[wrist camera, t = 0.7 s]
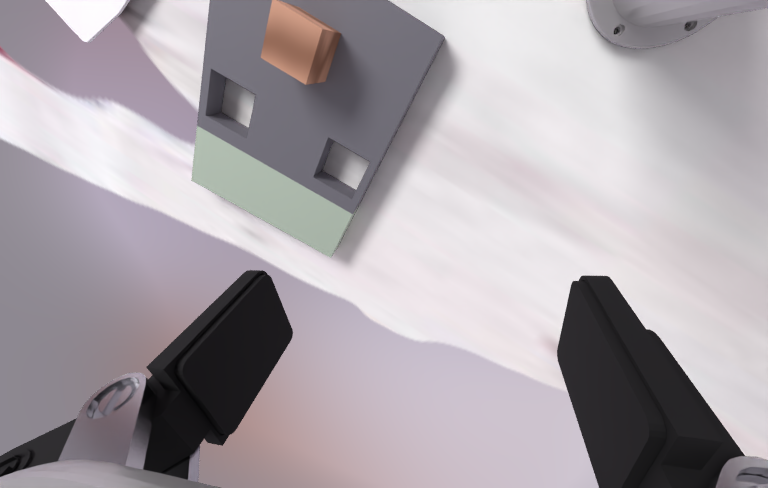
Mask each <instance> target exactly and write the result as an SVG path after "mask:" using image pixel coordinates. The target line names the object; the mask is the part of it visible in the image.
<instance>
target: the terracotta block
mask: <svg viewBox="0 0 768 488" xmlns="http://www.w3.org/2000/svg"><path fill="white" fill-rule="evenodd" d="M340 36H341V33H340V32H338V31H337V30H335V29H333V28H332V27H330V26H329V25H327V24H325V23H324V22H322V21H321V20H319V19H317V18H316V17H314V16H312V15H311V14H309V13H308V12H306V11H304V10H303V9H301V8H300V7H297V6H294V5H291V4H288V3H285V2H282V1H279V0H272V4H271V9H270V13H269V18H268V23H267V28H266V33H265V38H264V43H263V48H262V53H261V58H262V59H264V60H265V61H267V62H269V63H270V64H272V65H274V66H275V67H277V68H279V69H280V70H282V71H284V72H285V73H287V74H289V75H290V76H292V77H294V78H295V79H297V80H299V81H300V82H302V83H304V84H305V85H307V84H314V83H321V82H325V81H326V78H327V75H328V72H329V69H330V66H331V63H332V60H333V57H334V54H335V51H336V48H337V45H338V42H339V39H340Z"/></svg>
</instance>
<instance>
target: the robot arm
mask: <svg viewBox="0 0 768 488" xmlns="http://www.w3.org/2000/svg"><path fill="white" fill-rule="evenodd" d="M586 1H587V7H588V13H589V15H590V17H591V20H592V22H593V25H594V26H595V27H596V29H597V30H598V31H599V33H600V34H601V35H602V36H604V37H605V38H606V39H607V40H609V41H610V42H612V43H615V44H617V45H619V46H622V47H628V48H635V49H637V48H651V47H658V46H663V45H666V44H670V43H673V42H676V41H679V40H681V39H683V38H685V37H687V36H690V35H692V34H693V33H695V32H697V31H698V30H700V29H701V28H703V27H705V26H706V25H708V24H709V23H711V22H712V21H714V20H715V19H716V18H717V17H719V16H725V15H730V14H736V13H742V12H747V11H753V10H759V9H764V8H768V0H586ZM686 23H687V24H688V25H687V27H686V28H685V29H684V27H685V24H686ZM615 28H618V32H617V33H616V34H614V29H615ZM292 334H293V331H292V328H291V325H290V323H289V321H288V318H287V315H286V313H285V311H284V308H283V306H282V303H281V301H280V298H279V296H278V293H277V291H276V288H275V286H274V283H273V281H272V278H271V277H270V276H269V275H267V273H266V272H265V271H252V270H250V271H246V272H245V273H244V274H242V275H241V276H240V277H239V278H238V279H237V280H236V281H235V282H234V283H233V284H232V285H231V286H230V287H229V288H228V289H227V290H226V291H225V292H224V293H223V294H222V295H221V296H220V297H219V298H218V299H216V300H215V301H214V303H212V304H211V305H210V306H209V307H208V308H207V309H206V310H205V311H204V312H203V313H202V314H201V315H200V316H199V317H198V318H197V319H196V320H195V321H194V322H193V323H192V324H191V325H190V326H189V327H188V328H186V329H185V330H184V331H183V332H182V333H181V334H180V335H179V336H178V337H177V338H176V339H175V340H174V341H173V342H172V343H171V344H170V345H169V346H168V347H167V348H166V349H165V350H164V351H163V352H162V353H161V354H160V355H158V356H157V357H156V358H155V359H154V360H153V361H152V362H151V363H150V364H149V365H148V366H147V368H148V370H149V371H150V372H151V373H152V376H151V378H149V379H147V378H146V377H145V376H144V374H142V373H129V374H126V375H123V376H120V377H118V378H116V379H114V380H112V381H110V382H109V383H107V384H106V385H105V386H103V387H101V388H100V389H99V390H98V391H97V392H95V393H94V394H93V395H92V396H91V397H90V398H89V399H88V400H87V402H86V403H85V404H84V405H83V407H82V409H81V410H80V413H79V414H78V417H77V418H76V419H74V420H73V421H70V422H68V423H66V424H64V425H62V426H60V427H58V428H56V429H54V430H52V431H49V432H48V433H45V434H44V435H41V436H39V437H37V438H35V439H33V440H31V441H29V442H27V443H25V444H23V445H20V446H18V447H16V448H14V449H12V450H10V451H9V452H7V453H5V454H3V455H2V456H0V488H220V487H215V486H211V485H207V484H203V483H199V482H198V476H199V454H200V444H201V442H202V441H203V439H205V440H206V441H207V442H208V443H212V444H217V445H223V444H224V443H225V441H226V439H227V438H228V436H229V435H230V434H232V433H233V432H234V431H235V430H236V429H237V427H238V425H239V424H240V422H241V421H242V419H243V417H244V416H245V414H246V412H247V411H248V409H249V408H250V406H251V404H252V402H253V401H254V399H255V398H256V396H257V395H258V393H259V391H260V390H261V388H262V386H263V385H264V383H265V381H266V380H267V378H268V377H269V375H270V373H271V371H272V370H273V368H274V367H275V365H276V364H277V362H278V360H279V359H280V357H281V355H282V354H283V352H284V351H285V349H286V347H287V346H288V344H289V343H290V341H291V339H292ZM557 356H558V362H559V365H560V368H561V371H562V374H563V378H564V381H565V384H566V387H567V390H568V393H569V396H570V399H571V402H572V405H573V408H574V411H575V414H576V417H577V421H578V424H579V427H580V430H581V433H582V436H583V439H584V442H585V445H586V448H587V451H588V454H589V458H590V461H591V464H592V467H593V470H594V473H595V476H596V479H597V482H598V485H599V488H768V460H766V459H762V458H759V457H749V456H745V455H744V454H743V452H742V451H741V450H740V448H739V447H738V446H737V444H736V443H735V441H734V440H733V439H732V437H731V436H730V434H729V433H728V432H727V430H726V429H725V428H724V426H723V425H722V423H721V422H720V421H719V419H718V418H717V416H716V415H715V414H714V412H713V411H712V410H711V408H710V407H709V405H708V404H707V403H706V401H705V400H704V398H703V397H702V396H701V394H700V393H699V392H698V390H697V389H696V387H695V386H694V385H693V383H692V382H691V380H690V379H689V378H688V376H687V375H686V374H685V372H684V371H683V369H682V368H681V367H680V365H679V364H678V362H677V361H676V360H675V358H674V357H673V356H672V354H671V353H670V351H669V350H668V349H667V347H666V346H665V344H664V343H663V342H662V340H661V339H660V338H659V337H658V335H657V334H656V333H655V332H653V331H651V330H646V329H645V327H644V326H643V324H642V323H641V322H640V320H639V319H638V317H637V316H636V314H635V313H634V311H633V310H632V309H631V307H630V306H629V304H628V303H627V301H626V300H625V298H624V297H623V296H622V294H621V293H620V291H619V290H618V288H617V287H616V285H615V284H614V283H613V281H612V280H611V279H610V278H609V277H608V276H581V278H580V279H579V281H573V282H572V285H571V289H570V294H569V298H568V303H567V307H566V312H565V317H564V321H563V326H562V331H561V335H560V340H559V345H558V350H557Z"/></svg>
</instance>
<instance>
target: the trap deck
mask: <svg viewBox="0 0 768 488" xmlns="http://www.w3.org/2000/svg"><path fill="white" fill-rule="evenodd" d="M279 1H282V2H285V3H288V4H291V5H294V6H297V7H300V8H301V9H303V10H304V11H306V12H308V13H309V14H311V15H312V16H314V17H316V18H317V19H319V20H321V21H322V22H324V23H325V24H327V25H329V26H330V27H332V28H333V29H335V30H337V31H338V32H340V33H341V36H340V39H339V42H338V45H337V48H336V51H335V54H334V57H333V60H332V63H331V66H330V69H329V72H328V75H327V78H326V81H325V82H321V83H314V84H307V85H305V84H304V83H302V82H300V81H299V80H297V79H295V78H294V77H292V76H290V75H289V74H287V73H285V72H284V71H282V70H280V69H279V68H277V67H275V66H274V65H272V64H270V63H269V62H267V61H265V60H264V59H262V58H261V53H262V48H263V43H264V38H265V33H266V28H267V23H268V18H269V13H270V9H271V4H272V0H210V4H209V14H208V24H207V34H206V43H205V53H204V63H203V73H202V82H201V92H200V102H199V112H198V121H197V132H196V141H195V151H194V161H193V170H192V181H193V182H195V183H197V184H199V185H201V186H202V187H204V188H206V189H208V190H210V191H211V192H213V193H215V194H217V195H219V196H220V197H222V198H224V199H226V200H228V201H229V202H231V203H233V204H235V205H237V206H238V207H240V208H242V209H244V210H246V211H247V212H249V213H251V214H253V215H255V216H256V217H258V218H260V219H262V220H264V221H265V222H267V223H269V224H271V225H273V226H274V227H276V228H278V229H280V230H282V231H284V232H285V233H287V234H289V235H291V236H293V237H294V238H296V239H298V240H300V241H302V242H303V243H305V244H307V245H309V246H311V247H312V248H314V249H316V250H318V251H320V252H321V253H323V254H325V255H327V256H329V257H330V258H331V256H332V255H333V253H334V252H335V250H336V249H337V247H338V245H339V243H340V242H341V240H342V238H343V236H344V234H345V232H346V230H347V228H348V226H349V224H350V222H351V220H352V218H353V216H354V214H355V212H356V210H357V208H358V206H359V204H360V203H361V201H362V199H363V197H364V195H365V193H366V191H367V189H368V187H369V185H370V183H371V181H372V179H373V177H374V175H375V173H376V171H377V169H378V167H379V165H380V163H381V162H382V160H383V158H384V156H385V154H386V152H387V150H388V148H389V146H390V144H391V142H392V140H393V138H394V136H395V134H396V132H397V130H398V128H399V126H400V124H401V122H402V121H403V119H404V117H405V115H406V113H407V111H408V109H409V107H410V105H411V103H412V101H413V99H414V97H415V95H416V93H417V91H418V89H419V87H420V85H421V83H422V82H423V80H424V78H425V76H426V74H427V72H428V70H429V68H430V66H431V64H432V62H433V60H434V58H435V56H436V54H437V52H438V50H439V48H440V46H441V44H442V42H443V41H444V39H445V37H444V36H443V35H442V34H440V33H439V32H437V31H436V30H434V29H432V28H431V27H429V26H428V25H426V24H425V23H423V22H421V21H420V20H418V19H417V18H415V17H413V16H412V15H410V14H409V13H407V12H406V11H404V10H402V9H401V8H399V7H398V6H396V5H395V4H393V3H391V2H390V1H388V0H279ZM226 77H227V78H228V79H230V80H232V81H233V82H235V83H237V84H238V85H240V86H242V87H244V88H245V89H247V90H249V91H250V92H252V93H254V94H256V96H255V101H254V106H253V111H252V115H251V120H250V125H249V128H247V127H246V126H244V125H242V124H240V123H239V122H237V121H235V120H234V119H232V118H230V117H228V116H227V115H225V114H223V113H221V109H222V102H223V95H224V88H225V81H226ZM333 141H336V142H337V143H339V144H341V145H342V146H344V147H346V148H347V149H349V150H351V151H353V152H354V153H356V154H358V155H359V156H361V157H363V158H364V159H366V160H368V161H370V163H369V166H368V168H367V170H366V172H365V174H364V176H363V178H362V180H361V182H360V184H359V186H358V188H357V190H355V189H353V188H351V187H350V186H348V185H346V184H344V183H343V182H341V181H339V180H338V179H336V178H334V177H332V176H331V175H329V174H327V173H325V172H324V171H322V169H323V166H324V164H325V161H326V159H327V156H328V154H329V151H330V148H331V146H332V143H333Z"/></svg>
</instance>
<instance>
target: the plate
mask: <svg viewBox="0 0 768 488" xmlns="http://www.w3.org/2000/svg"><path fill="white" fill-rule="evenodd" d="M45 1H46V2H47V3H48V4H49V5H50V6H51V7H52V8H53V9H54V10H55V11H56V13H57V14H58V15H59V16H60V17H61V18H62V19H63V20H64V21H65V22H66V23H67V24H68V25H69V27H70V28H71V29H72V30H73V31H74V32H75V33H76V34H77V35H78V36H79V37H80V38H81V40H82V41H85V42H91V41H92V40H94V38H96V37H97V36H98V35H99V34H100V33H101V32H102V31H103V30H104V29H105V28H106V27H107V26H108V25H109V24H110V23H112V21H114V20H115V19H116V18H117V17H118V16H119V15H120V14H121V13H122V11H123V10H124V8H125V7H126V5H127V4H128V2H129V1H130V0H45Z"/></svg>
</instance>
